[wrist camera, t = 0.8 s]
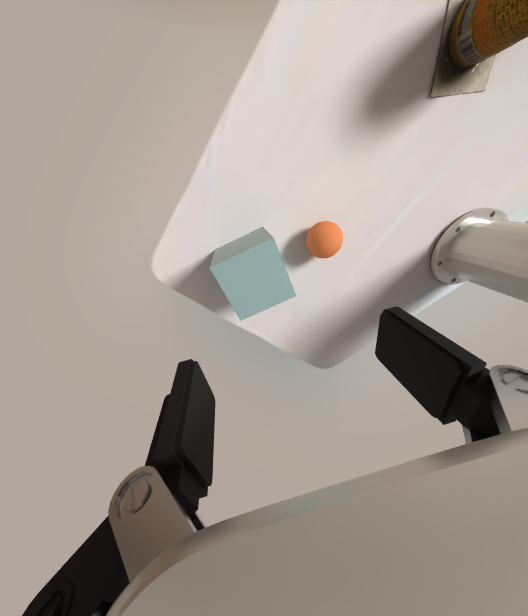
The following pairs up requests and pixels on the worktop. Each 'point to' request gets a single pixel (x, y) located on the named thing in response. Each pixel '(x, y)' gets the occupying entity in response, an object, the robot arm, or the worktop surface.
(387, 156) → the worktop surface
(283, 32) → the worktop surface
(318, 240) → the ball
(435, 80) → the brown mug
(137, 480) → the robot arm
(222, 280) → the mint green cube
